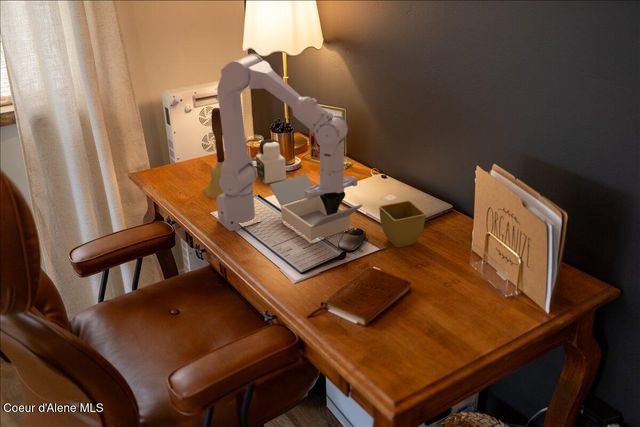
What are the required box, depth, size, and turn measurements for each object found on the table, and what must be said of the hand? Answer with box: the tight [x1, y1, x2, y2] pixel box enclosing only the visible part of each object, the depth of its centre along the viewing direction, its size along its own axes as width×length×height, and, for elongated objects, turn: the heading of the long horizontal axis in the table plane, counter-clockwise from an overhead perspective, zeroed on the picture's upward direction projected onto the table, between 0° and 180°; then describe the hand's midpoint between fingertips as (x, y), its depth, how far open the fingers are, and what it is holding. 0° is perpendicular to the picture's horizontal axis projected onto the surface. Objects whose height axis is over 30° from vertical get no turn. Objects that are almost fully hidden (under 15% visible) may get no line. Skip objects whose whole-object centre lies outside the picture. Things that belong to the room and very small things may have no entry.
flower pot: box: [378, 200, 427, 248], centre depth 146 cm, size 9×9×9 cm
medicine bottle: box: [255, 139, 287, 185], centre depth 182 cm, size 7×7×12 cm
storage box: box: [280, 196, 351, 241], centre depth 155 cm, size 12×14×5 cm
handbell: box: [202, 107, 225, 199], centre depth 172 cm, size 12×12×25 cm
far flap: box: [269, 174, 314, 207], centre depth 160 cm, size 12×7×1 cm
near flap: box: [312, 204, 363, 228], centre depth 145 cm, size 12×7×1 cm
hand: (331, 217), depth 148 cm, fingers closed, pressing on near flap
